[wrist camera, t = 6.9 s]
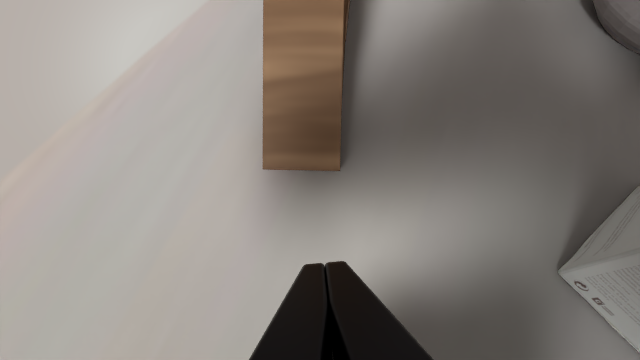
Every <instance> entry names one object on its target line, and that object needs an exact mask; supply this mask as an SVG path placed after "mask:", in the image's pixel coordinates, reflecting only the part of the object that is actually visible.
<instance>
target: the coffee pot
mask: <svg viewBox="0 0 640 360" xmlns="http://www.w3.org/2000/svg"><path fill="white" fill-rule="evenodd" d="M593 3H594V7H595V10H596V13H597V17H598V19H599V21H600V22H601V24H602V26H603V27H604V29H605V30H606V31H607V32H608V33H609V34H610V35H611V36H612V37H613V38H614V39H615V40H616V41H618V42H619V43H621V44H622V45H623V46H625V47H626V48H628V49H630V50H632V51H634V52H637V53H639V54H640V0H593Z"/></svg>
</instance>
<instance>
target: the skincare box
mask: <svg viewBox="0 0 640 360" xmlns="http://www.w3.org/2000/svg"><path fill="white" fill-rule="evenodd" d="M558 273H559V274H560V275H561V277H562V278H563V279H564V280H565V281H566V282H567V283H568V284H569V285H570V286H572V287H573V288H574V289H575V290H576V291H577V292H578V293H579V294H580V295H581V296H582V297H583V298H584V299H585V300H586V301H587V302H588V303H589V304H590V305H591V306H592V307H593V308H594V309H595V310H596V311H597V312H598V313H600V314H601V315H602V316H603V317H604V318H605V320H606V321H607V322H608V323H609V324H610V325H611V326H612V327H613V328H614V329H615V330H616V331H617V332H618V333H619V334H620V335H621V336H622V337H623V338H624V339H626V340H627V341H628V342H629V344H631V345H632V346H633V347H634V348H635V349H636V350H637V351H638V352H639V353H640V185H639V186H638V187H637V188H636V189H635V190H634V191H633V192H632V193H631V194H630V195H629V196H628V197H627V198H626V199H625V200H624V202H623V203H622V204H621V205H620V206H619V207H618V208H617V209H616V210H615V211H614V212H613V213H612V214H611V215H610V216H609V217H608V218H607V219H606V220H605V221H604V222H603V223H602V224H601V225H600V226H599V227H598V228H597V230H596V231H595V232H594V233H593V234H592V235H591V236H590V237H589V238H588V239H587V240H586V241H585V243H584V244H583V245H582V246H581V247H580V249H579V250H578V251H577V252H576V253H575V255H574V256H573V257H572V258H571V259H570V260H569V261H568V262H567V263H566V264H564V265H563V266H562V267H561V268H560V269H559V271H558Z"/></svg>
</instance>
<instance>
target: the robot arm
mask: <svg viewBox="0 0 640 360" xmlns="http://www.w3.org/2000/svg"><path fill="white" fill-rule="evenodd" d="M332 354H333V355H332ZM249 360H433V359H432V357H431V356H430V355H429V354H428V353H427V352H426V351H425V350H424V349H423V347H422V346H421V345H420V344H419V343H418V342H417V341H416V340H415V339H414V337H413V336H412V335H411V334H410V333H409V332H408V331H407V330H406V329H405V327H404V326H403V325H402V324H401V323H400V322H399V321H398V320H397V319H396V318H395V316H394V315H393V314H392V313H391V312H390V311H389V310H388V309H387V308H386V306H385V305H384V304H383V303H382V302H381V301H380V300H379V299H378V298H377V296H376V295H375V294H374V293H373V292H372V291H371V290H370V289H369V288H368V286H367V285H366V284H365V283H364V282H363V281H362V280H361V279H360V278H359V276H358V275H357V274H356V273H355V272H354V271H353V270H352V269H351V268H350V266H349V265H348V264H347V263H346V262H344V261H338V262H328V263H326V264H325V267H324V264H322V263H316V264H306V265H304V266H303V267H302V269H301V271H300V272H299V274H298V276H297V278H296V279H295V281H294V283H293V284H292V286H291V288H290V290H289V291H288V293H287V295H286V297H285V298H284V300H283V302H282V303H281V305H280V307H279V309H278V310H277V312H276V314H275V316H274V317H273V319H272V321H271V323H270V324H269V326H268V328H267V329H266V331H265V333H264V335H263V336H262V338H261V340H260V342H259V343H258V345H257V347H256V348H255V350H254V352H253V354H252V355H251V357H250V359H249Z"/></svg>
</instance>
